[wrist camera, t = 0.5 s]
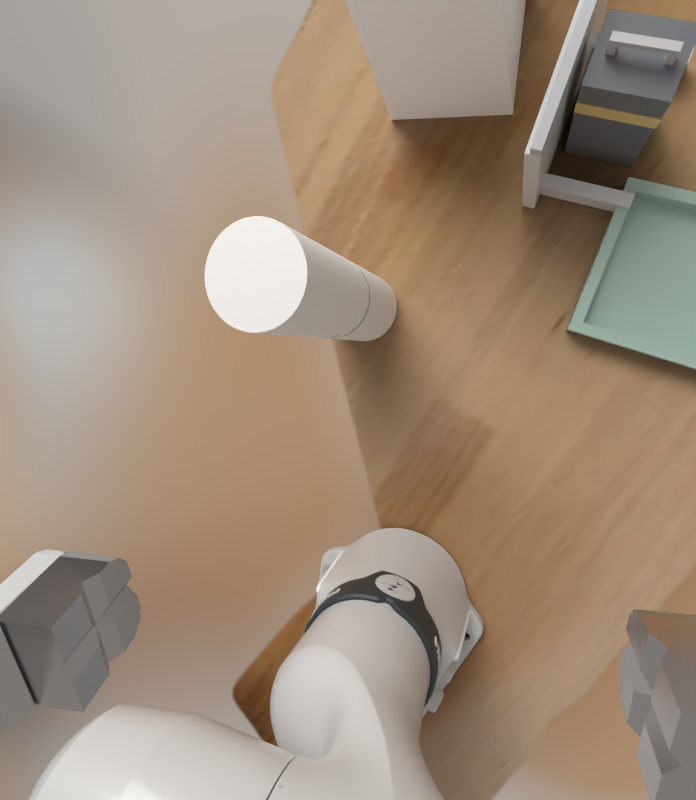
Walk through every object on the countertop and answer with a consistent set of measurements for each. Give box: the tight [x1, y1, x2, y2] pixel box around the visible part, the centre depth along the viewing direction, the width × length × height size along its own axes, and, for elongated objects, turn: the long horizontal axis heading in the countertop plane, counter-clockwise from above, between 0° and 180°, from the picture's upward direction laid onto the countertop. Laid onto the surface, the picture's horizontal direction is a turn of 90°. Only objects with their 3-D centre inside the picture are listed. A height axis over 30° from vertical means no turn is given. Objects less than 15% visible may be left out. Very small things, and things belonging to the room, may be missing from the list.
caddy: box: [564, 9, 696, 167], centre depth 41 cm, size 5×6×15 cm
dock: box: [522, 0, 694, 212], centre depth 41 cm, size 16×9×15 cm, turn 161°
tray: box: [566, 177, 696, 370], centre depth 46 cm, size 14×14×2 cm
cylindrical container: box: [205, 216, 397, 341], centre depth 44 cm, size 7×7×25 cm
